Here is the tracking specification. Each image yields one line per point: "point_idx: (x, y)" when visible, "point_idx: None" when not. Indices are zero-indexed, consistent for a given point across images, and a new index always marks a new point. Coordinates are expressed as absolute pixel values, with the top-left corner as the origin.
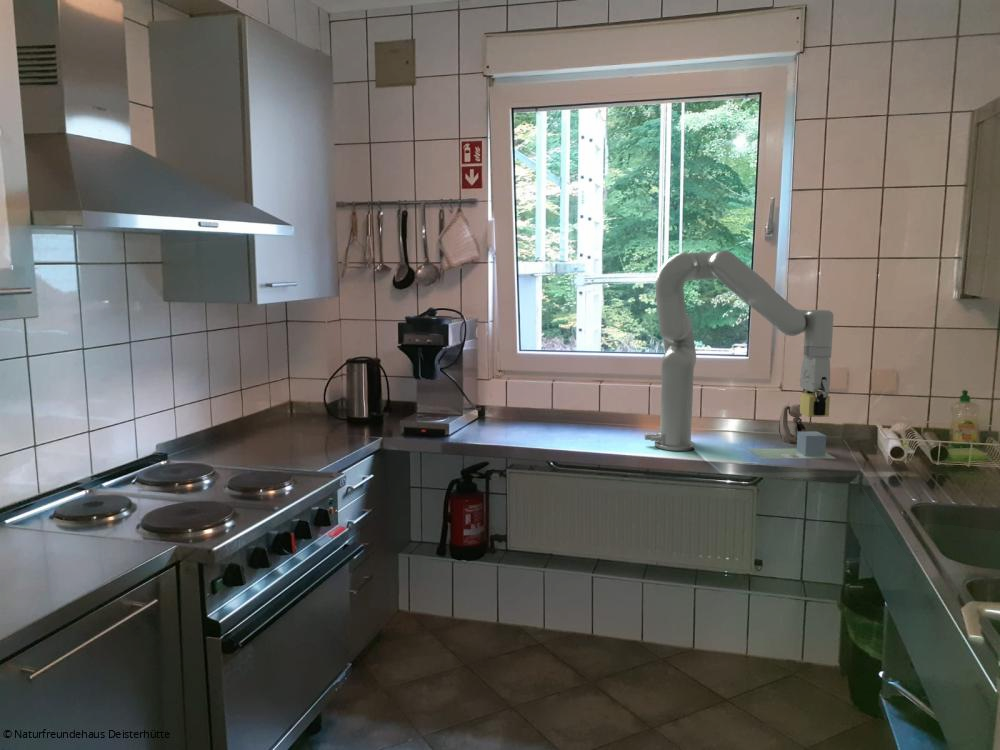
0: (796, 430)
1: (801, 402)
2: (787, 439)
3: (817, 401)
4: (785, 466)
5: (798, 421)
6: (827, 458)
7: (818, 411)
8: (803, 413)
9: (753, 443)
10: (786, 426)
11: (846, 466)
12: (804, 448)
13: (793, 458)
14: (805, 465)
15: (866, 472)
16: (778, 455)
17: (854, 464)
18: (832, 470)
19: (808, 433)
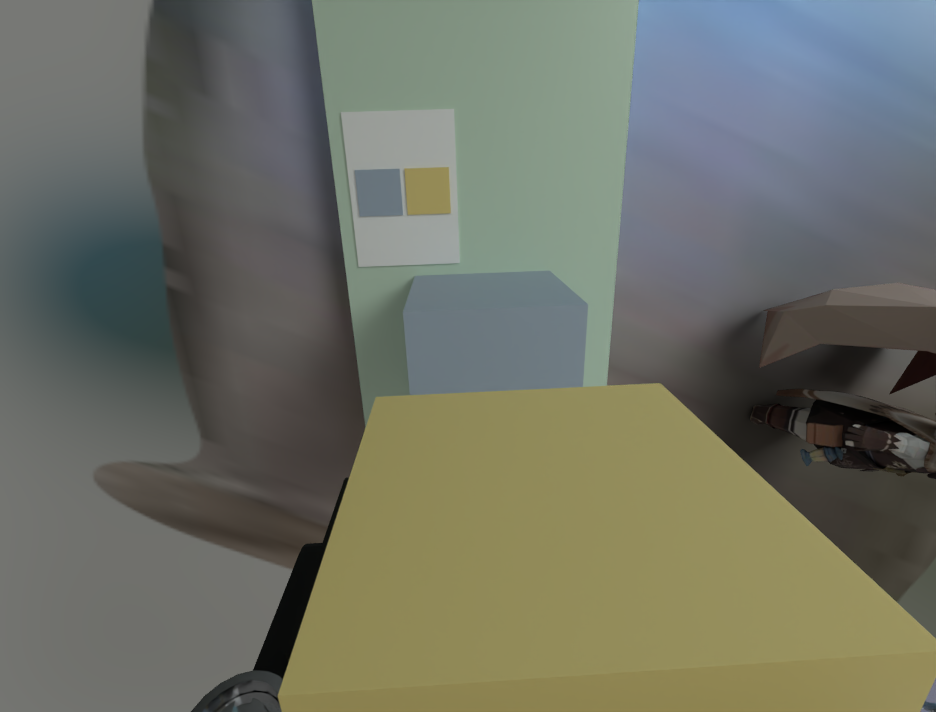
0: (864, 401)
1: (704, 478)
2: (793, 305)
3: (213, 696)
4: (222, 55)
5: (895, 436)
6: (360, 387)
7: (303, 550)
8: (543, 395)
9: (904, 77)
10: (909, 333)
11: (288, 442)
12: (429, 285)
13: (334, 161)
14: (275, 219)
15: (177, 486)
16: (418, 75)
17: (337, 493)
18: (179, 336)
19: (505, 368)
